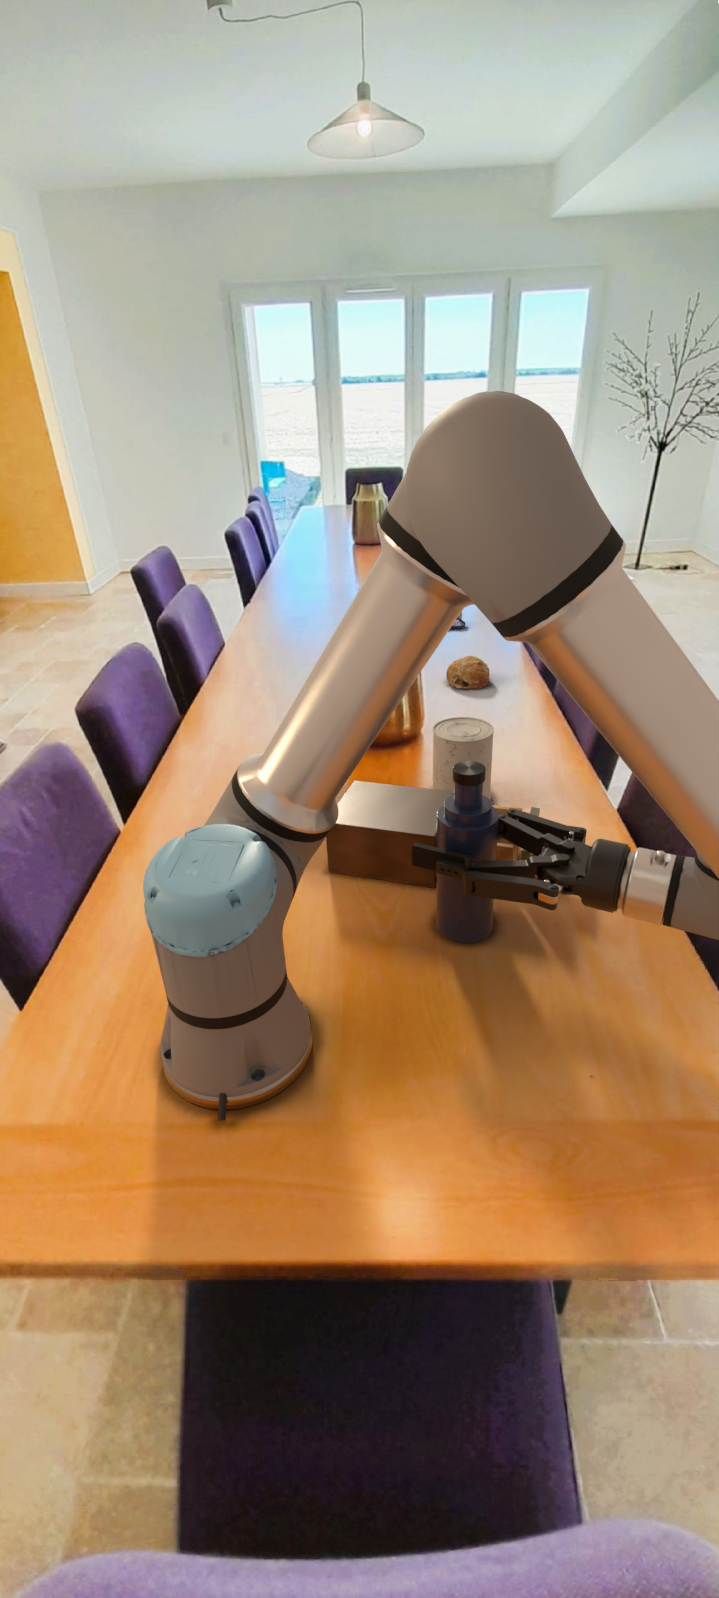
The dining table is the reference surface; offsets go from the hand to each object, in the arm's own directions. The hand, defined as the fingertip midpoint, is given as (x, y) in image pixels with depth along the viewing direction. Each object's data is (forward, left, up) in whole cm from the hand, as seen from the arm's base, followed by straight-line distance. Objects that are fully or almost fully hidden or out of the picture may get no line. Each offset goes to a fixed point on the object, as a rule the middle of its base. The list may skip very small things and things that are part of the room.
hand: (429, 834), depth 86 cm
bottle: (-1, -5, -12) cm, 13 cm away
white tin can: (+32, +2, -12) cm, 34 cm away
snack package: (+134, +25, -12) cm, 137 cm away
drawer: (+12, -7, -11) cm, 18 cm away
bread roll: (+87, +11, -12) cm, 88 cm away
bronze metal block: (+12, +8, -12) cm, 19 cm away
